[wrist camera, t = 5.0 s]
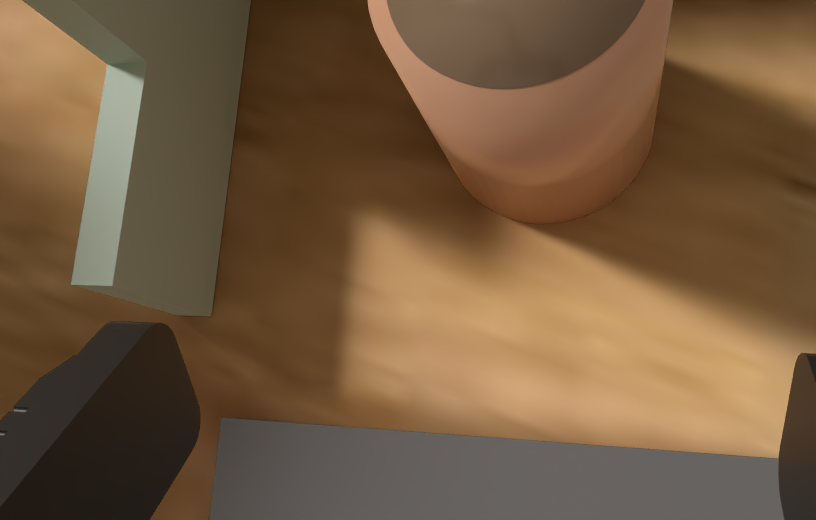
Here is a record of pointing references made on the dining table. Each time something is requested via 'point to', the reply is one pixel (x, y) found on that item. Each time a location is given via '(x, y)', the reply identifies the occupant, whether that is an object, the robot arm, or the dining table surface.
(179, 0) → the stepped shelf frame
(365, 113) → the dining table surface
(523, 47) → the pink and brown cylinder
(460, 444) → the charcoal mat
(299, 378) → the dining table surface
